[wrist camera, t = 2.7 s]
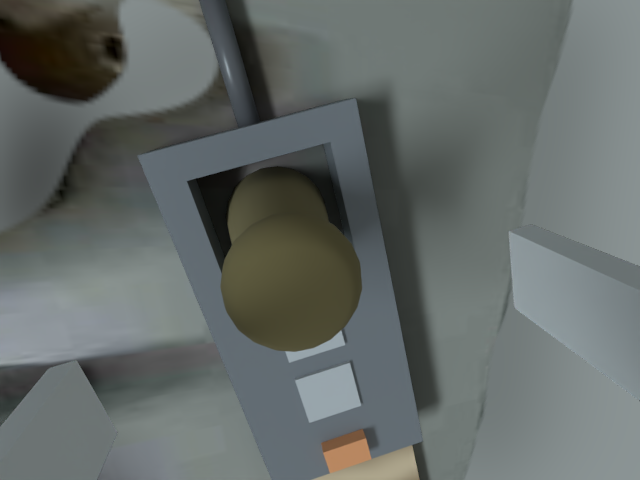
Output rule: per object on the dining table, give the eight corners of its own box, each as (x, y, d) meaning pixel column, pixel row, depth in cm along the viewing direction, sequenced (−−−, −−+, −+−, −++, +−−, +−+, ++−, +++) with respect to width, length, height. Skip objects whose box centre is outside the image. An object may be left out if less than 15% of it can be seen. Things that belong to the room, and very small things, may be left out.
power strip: (95, 14, 18) (63, -7, 15) (316, -38, 19) (328, -67, 16) (274, 460, 29) (277, 502, 26) (409, 415, 30) (427, 450, 26)
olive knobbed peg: (205, 228, 22) (164, 328, 12) (265, 144, 21) (278, 175, 11) (287, 280, 24) (313, 405, 14) (345, 206, 23) (420, 281, 13)
